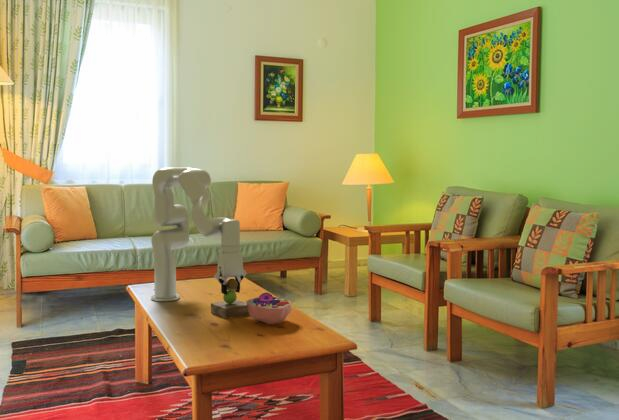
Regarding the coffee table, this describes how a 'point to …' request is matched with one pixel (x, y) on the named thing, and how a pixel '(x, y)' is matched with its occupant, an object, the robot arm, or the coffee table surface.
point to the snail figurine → (230, 291)
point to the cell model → (269, 308)
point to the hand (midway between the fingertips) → (230, 292)
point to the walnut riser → (229, 309)
